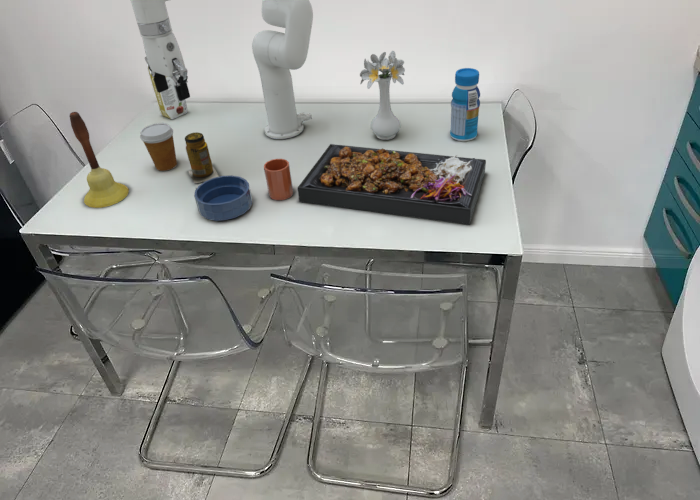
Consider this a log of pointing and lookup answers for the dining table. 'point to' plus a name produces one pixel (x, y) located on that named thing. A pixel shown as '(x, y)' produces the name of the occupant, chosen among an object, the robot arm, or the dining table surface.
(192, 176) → the condiment
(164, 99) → the juice carton
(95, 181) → the handbell
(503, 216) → the dining table surface
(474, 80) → the beverage bottle
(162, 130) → the disposable coffee cup
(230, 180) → the bowl
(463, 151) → the dining table surface
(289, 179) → the cup
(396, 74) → the flower vase
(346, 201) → the food platter
